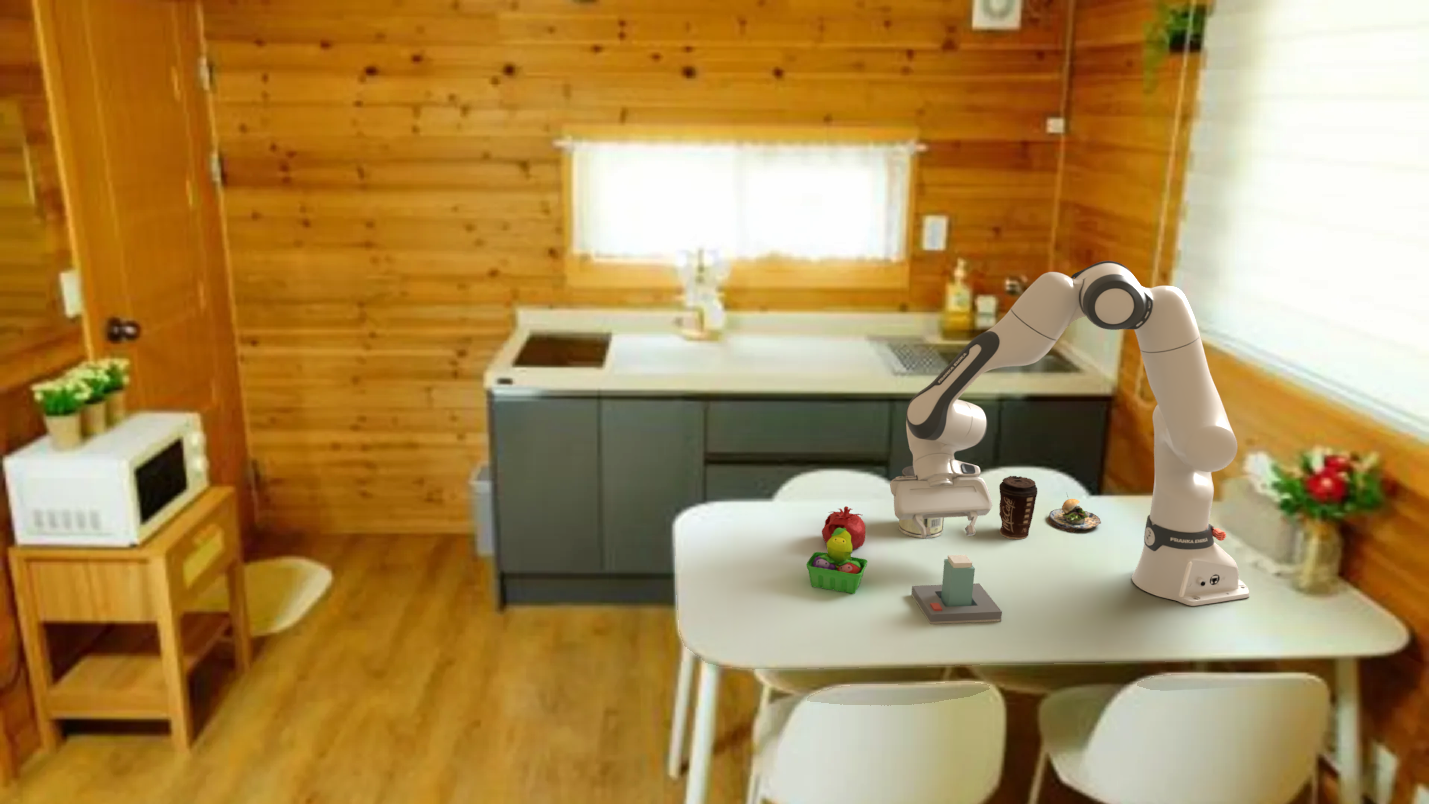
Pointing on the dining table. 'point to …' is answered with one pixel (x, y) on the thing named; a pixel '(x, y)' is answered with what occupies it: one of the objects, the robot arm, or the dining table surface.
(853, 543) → the pomegranate
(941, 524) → the coffee can
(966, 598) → the plug
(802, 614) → the dining table surface
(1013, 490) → the coffee cup
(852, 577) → the fruit basket
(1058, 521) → the burger
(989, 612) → the socket plate
